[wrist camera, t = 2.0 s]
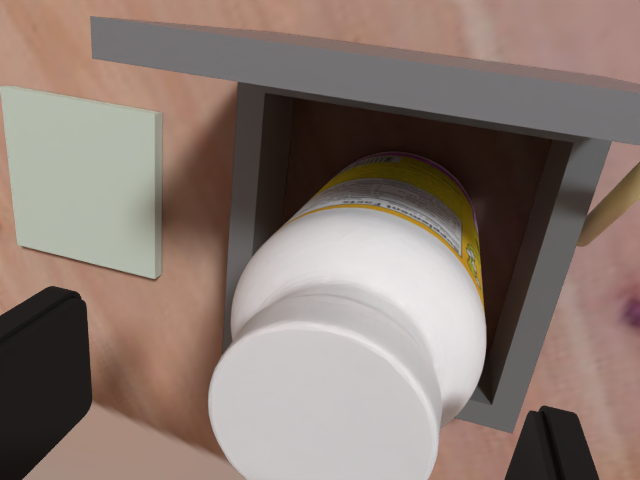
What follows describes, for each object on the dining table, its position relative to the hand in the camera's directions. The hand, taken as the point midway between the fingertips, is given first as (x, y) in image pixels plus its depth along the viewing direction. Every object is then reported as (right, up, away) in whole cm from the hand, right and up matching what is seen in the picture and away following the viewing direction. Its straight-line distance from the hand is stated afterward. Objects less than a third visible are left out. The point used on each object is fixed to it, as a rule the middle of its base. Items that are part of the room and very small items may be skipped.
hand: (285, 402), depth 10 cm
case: (+4, +4, +11) cm, 12 cm away
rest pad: (-11, +6, +14) cm, 19 cm away
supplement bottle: (+4, +4, +11) cm, 13 cm away
